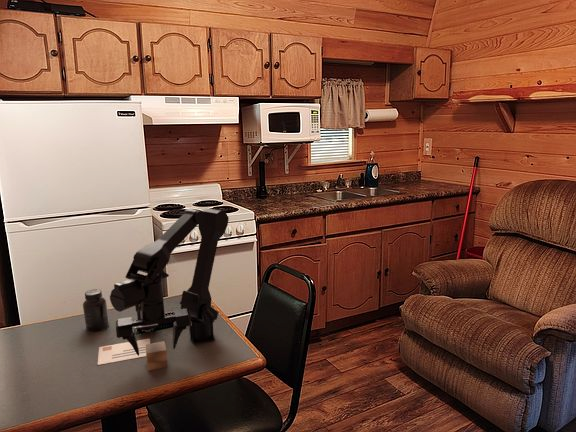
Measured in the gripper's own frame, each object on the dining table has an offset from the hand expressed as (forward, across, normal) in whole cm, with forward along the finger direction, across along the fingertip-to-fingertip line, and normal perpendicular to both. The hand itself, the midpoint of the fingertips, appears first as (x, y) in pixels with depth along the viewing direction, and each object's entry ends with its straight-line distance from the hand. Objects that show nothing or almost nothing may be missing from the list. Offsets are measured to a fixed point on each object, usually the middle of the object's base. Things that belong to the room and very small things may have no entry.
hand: (156, 351), depth 120 cm
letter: (+4, +8, -10) cm, 13 cm away
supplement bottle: (+4, +16, -29) cm, 33 cm away
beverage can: (+4, +1, -22) cm, 22 cm away
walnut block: (+4, 0, 0) cm, 4 cm away
